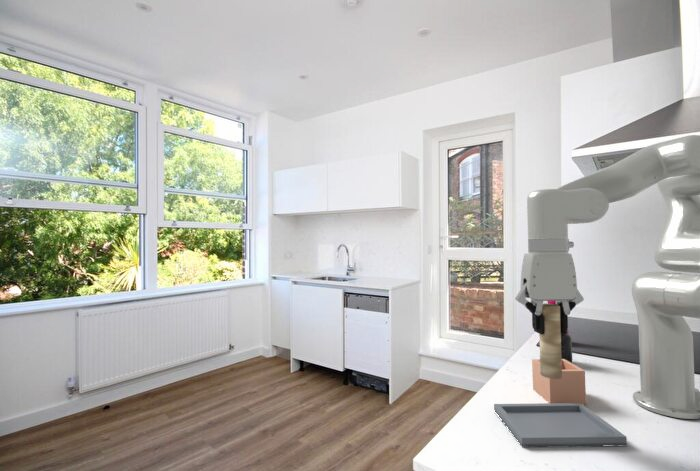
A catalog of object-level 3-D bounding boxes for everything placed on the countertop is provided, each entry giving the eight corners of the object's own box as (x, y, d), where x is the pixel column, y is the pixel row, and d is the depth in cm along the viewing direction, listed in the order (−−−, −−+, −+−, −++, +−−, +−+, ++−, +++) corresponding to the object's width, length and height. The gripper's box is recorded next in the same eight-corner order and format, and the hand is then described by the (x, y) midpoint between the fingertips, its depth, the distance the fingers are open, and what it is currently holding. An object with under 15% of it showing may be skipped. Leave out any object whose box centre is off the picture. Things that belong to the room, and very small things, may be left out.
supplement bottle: (550, 357, 117) (548, 321, 117) (573, 361, 113) (572, 324, 113) (545, 363, 112) (544, 326, 112) (570, 368, 108) (569, 329, 108)
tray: (580, 410, 81) (580, 402, 81) (626, 446, 67) (626, 436, 67) (494, 411, 82) (494, 404, 82) (521, 447, 68) (521, 437, 68)
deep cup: (565, 389, 93) (564, 358, 93) (586, 404, 84) (584, 370, 85) (533, 389, 93) (532, 359, 93) (550, 404, 85) (549, 371, 85)
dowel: (555, 371, 77) (553, 303, 77) (566, 378, 73) (564, 306, 73) (536, 371, 77) (535, 303, 77) (546, 378, 73) (544, 306, 73)
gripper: (576, 246, 79) (578, 327, 78) (501, 247, 79) (503, 328, 79) (599, 246, 71) (601, 337, 71) (516, 248, 72) (518, 337, 71)
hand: (550, 331), depth 75 cm, fingers closed on dowel, 4 cm apart
